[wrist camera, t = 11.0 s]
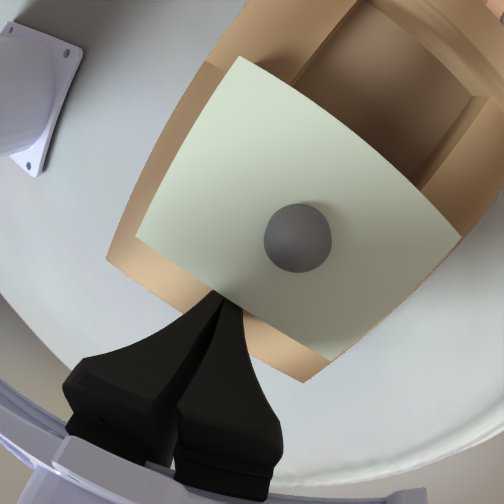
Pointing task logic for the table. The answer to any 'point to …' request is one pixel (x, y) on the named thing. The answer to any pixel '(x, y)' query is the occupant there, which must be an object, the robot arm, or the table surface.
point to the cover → (293, 214)
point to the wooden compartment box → (351, 119)
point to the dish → (495, 6)
